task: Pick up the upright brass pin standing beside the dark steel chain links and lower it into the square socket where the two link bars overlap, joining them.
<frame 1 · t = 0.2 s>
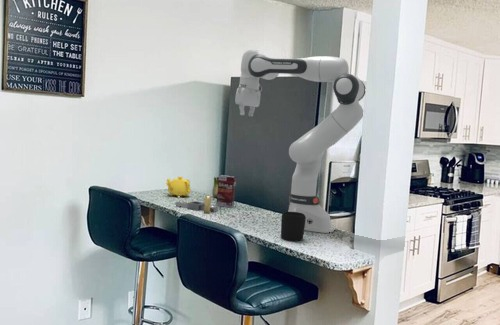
hand: (246, 115, 230), 47 cm above the table, tool pointing down, fingers open, 8 cm apart
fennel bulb: (217, 198, 285), on the table
pin: (206, 212, 235), on the table
pen holder: (291, 239, 194), on the table
chain joint: (196, 208, 243), on the table
supplement box: (225, 206, 258), on the table
teapot: (176, 196, 279), on the table
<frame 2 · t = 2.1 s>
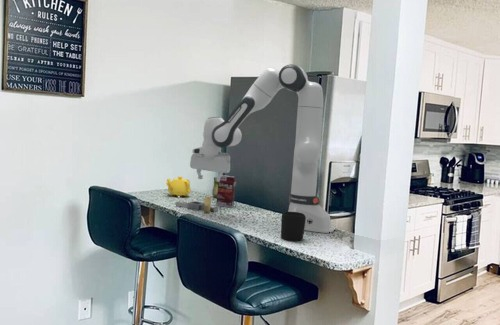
hand: (208, 180, 234), 16 cm above the table, tool pointing down, fingers open, 8 cm apart
nothing on the table moved.
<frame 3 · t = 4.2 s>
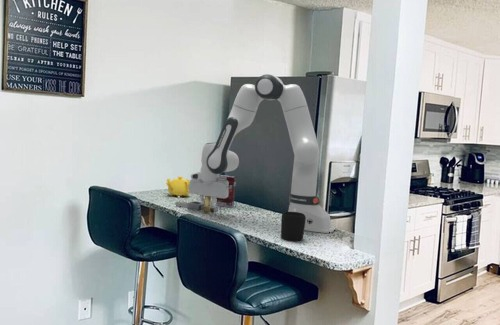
hand: (207, 205, 234), 4 cm above the table, tool pointing down, fingers closed on pin, 3 cm apart
pin: (206, 212, 235), on the table, touching gripper
everything else where it was.
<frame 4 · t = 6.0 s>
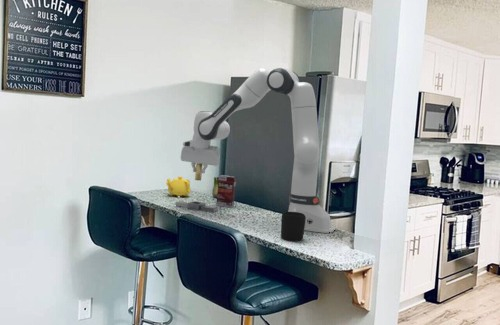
hand: (198, 172, 241), 18 cm above the table, tool pointing down, fingers closed on pin, 3 cm apart
pin: (198, 180, 241), point 14 cm above the table, touching gripper
everything else where it was.
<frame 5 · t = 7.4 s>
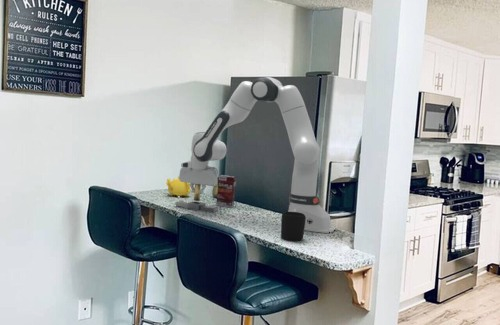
hand: (197, 193, 242), 8 cm above the table, tool pointing down, fingers closed on pin, 3 cm apart
pin: (196, 200, 243), point 4 cm above the table, touching gripper
everything else where it was.
when the fingers open (5 cm above the table, at t = 8.2 s): pin drops 1 cm, resting in chain joint.
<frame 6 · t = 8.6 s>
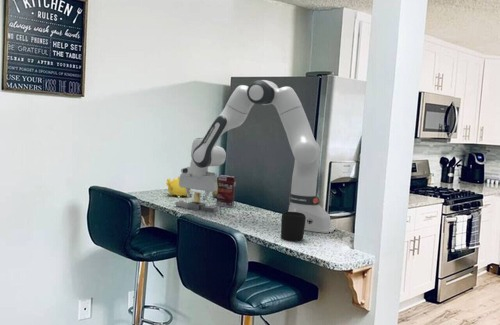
hand: (197, 198, 243), 5 cm above the table, tool pointing down, fingers open, 8 cm apart
pin: (196, 208, 243), resting in chain joint
everything else where it was.
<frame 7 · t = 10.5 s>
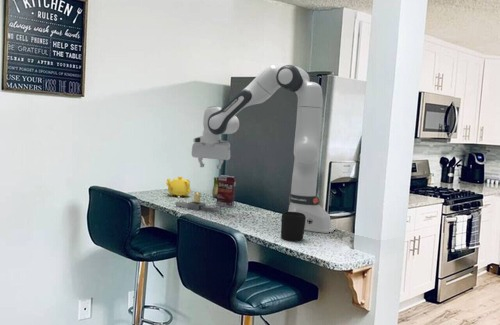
hand: (210, 167, 242), 21 cm above the table, tool pointing down, fingers open, 8 cm apart
nothing on the table moved.
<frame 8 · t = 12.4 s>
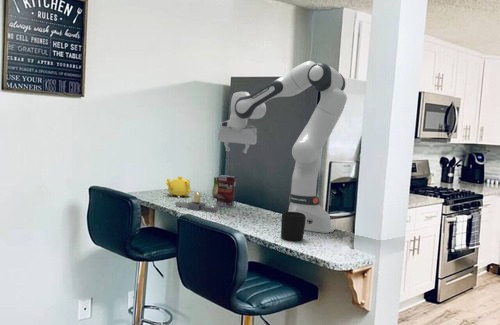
hand: (236, 152, 245), 29 cm above the table, tool pointing down, fingers open, 8 cm apart
nothing on the table moved.
at the end: pin 0.1 cm off-centre on the chain joint, point 0.0 cm above the chain joint's base; pin tilted 0°; the gripper is holding nothing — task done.
